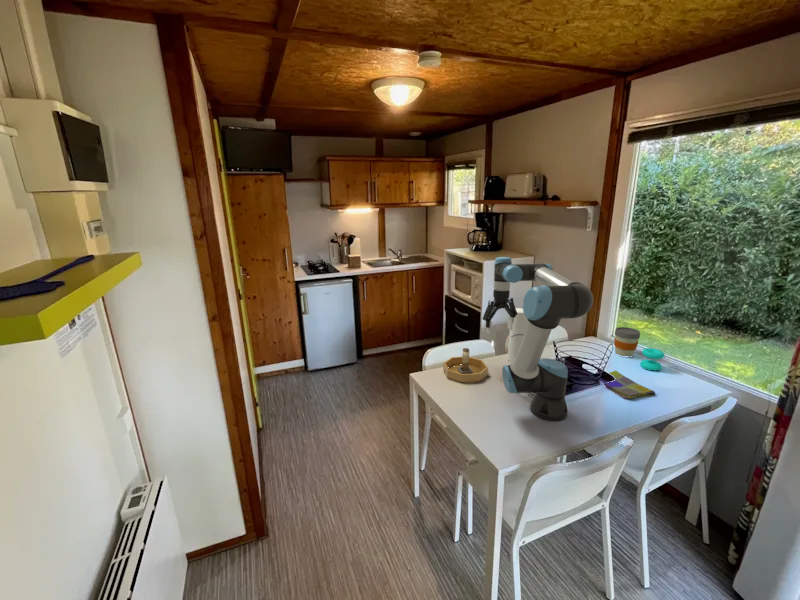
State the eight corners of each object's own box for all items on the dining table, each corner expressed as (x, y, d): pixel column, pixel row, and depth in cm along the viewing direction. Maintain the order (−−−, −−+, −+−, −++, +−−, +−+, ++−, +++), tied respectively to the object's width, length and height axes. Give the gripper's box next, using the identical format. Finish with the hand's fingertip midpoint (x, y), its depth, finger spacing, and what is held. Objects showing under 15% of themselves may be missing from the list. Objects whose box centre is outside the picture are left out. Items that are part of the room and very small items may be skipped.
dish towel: (616, 373, 198) (617, 369, 197) (657, 396, 175) (658, 391, 174) (588, 378, 194) (589, 373, 193) (627, 402, 171) (628, 396, 170)
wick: (469, 373, 198) (470, 350, 194) (462, 373, 198) (463, 351, 194) (467, 370, 201) (468, 347, 197) (461, 370, 201) (462, 348, 197)
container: (525, 363, 210) (529, 312, 202) (509, 363, 210) (513, 312, 202) (520, 357, 218) (524, 308, 210) (506, 357, 218) (509, 308, 210)
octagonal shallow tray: (492, 381, 190) (492, 372, 189) (450, 384, 188) (450, 375, 187) (478, 363, 211) (478, 355, 210) (440, 365, 209) (440, 358, 207)
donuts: (647, 345, 207) (668, 351, 199) (644, 362, 210) (664, 368, 202) (639, 350, 201) (660, 356, 194) (636, 367, 204) (657, 373, 196)
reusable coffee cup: (640, 355, 218) (644, 331, 214) (629, 361, 212) (633, 336, 208) (619, 348, 228) (622, 325, 224) (607, 353, 222) (610, 329, 218)
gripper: (515, 285, 188) (512, 325, 193) (476, 290, 177) (474, 333, 182) (526, 287, 182) (523, 329, 187) (486, 293, 170) (484, 337, 175)
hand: (499, 331), depth 184 cm, fingers open, 13 cm apart
